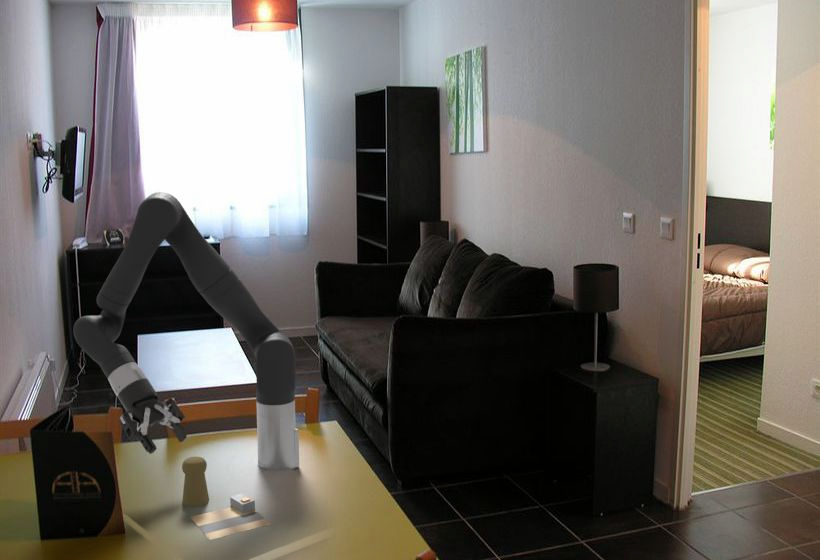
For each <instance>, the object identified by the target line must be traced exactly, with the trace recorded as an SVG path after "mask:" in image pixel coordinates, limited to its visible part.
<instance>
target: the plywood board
mask: <svg viewBox="0 0 820 560" xmlns="http://www.w3.org/2000/svg"><path fill="white" fill-rule="evenodd" d="M190 519H191V520H192V521H193V522H194V523H195V524H196V526H197V527H198V528H199V529H200V531H201V532H202V533H203V534H204V536H206V538H207V539H208V541H212V540H215V539H219V538H220V539H221V538H223V537H228V536H231V535H236V534H239V533H244V532H247V531H250V530H251V531H252V530H255V529H258V528H259V529H260V528H262V527H266V526H270V525H272V523H270V522H269V521H268V520H267V519H266V518H265V517H264V516H263V515H262V514H261V513H260V512H259V511H258V510H257V508H255V509H254V510H251V511H248V512H246V513H241V512H240V511H238V510H237V509H235V508H233V507H232V506H230V507H225V508H221V509H218V510H213V511H209V512H205V513H200V514H196V515H192V516H190Z"/></svg>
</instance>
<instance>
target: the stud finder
mask: <svg viewBox="0 0 820 560" xmlns="http://www.w3.org/2000/svg"><path fill="white" fill-rule="evenodd" d="M229 497H230V507H233V508H235V509H237V510H238V511H240V512H241V513H246V512H248V511H251V510H254V509H256V503H255V502H256V500H255V499H253V498H251V497H250V496H248V495H246V494H244V493H243V492H242V493H239V494H235V495H232V496H229Z"/></svg>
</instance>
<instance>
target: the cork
mask: <svg viewBox="0 0 820 560" xmlns="http://www.w3.org/2000/svg"><path fill="white" fill-rule="evenodd" d="M207 466H208V463H207V460H206V459H205V458H204V457H201V456H197V455H196V456H190V457H187V458H185V459H184V460H183V462H182V465H181V470H182V472H183V474H184V481H183V483H184V484H183V491H182V501H181V503H182V505H183V506H185V507H190V508H193V507H194V508H197V507H201V506H204V505H207V504H208V503H209V501H210V496H209V491H208V485H207V479H206V474H205V472H206V471H207Z"/></svg>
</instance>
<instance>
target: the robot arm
mask: <svg viewBox="0 0 820 560" xmlns="http://www.w3.org/2000/svg"><path fill="white" fill-rule="evenodd" d="M133 222H134V223H133V225H132V228H131V231H130V234H129V236H128V239H127V241H126V244H125V246H124V248H123V250H122V252H121V253H120V254H119V257H118V259H117V261H116V262H115V264H114V265H113V267H112V269H111V271H110V272H109V275H108V276H107V278H106V279H105V281H104V283H103V284H102V287H101V289H100V291H99V292H98V295H97V296H96V304H97V306H98V307H99V308H100V309H101V312H100V314H99V315H84V316H81V317H79V318H78V319H76V321H75V322H74V324H73V331H72V332H73V336H74V339H75V341H76V343H77V345H78V347H80V348H81V349H82V350H83V352H84V353H85V354H87V355H88V356H89V358H91V359H92V360H93V361H94V362H95V363H97V365H99V367H100V368H101V370H102V372H103V373H104V375H105V377H106V378H107V379H106V380H108V382H109V384H110V386H111V389H112V390H113V392H114V394H115V396H116V397H117V398H118V400H119V402H120V403H121V405H122V407H123V408H124V410H125V411H124V412H123V413H122V414H121V416H120V417H119V418H118V422H119V424H120V426H121V427H122V430H123V431H124V433H125V435H126V437H127V438H128V441H130V442H133V441H135V440H137V441H139V442H140V444H141V445H142V447H143V448H144V450H145V451H146V452H147V453H149V455H151V454H154V453H155V452H156V451H157V449H158V448H157V445H156V444H155V442H154V441H153V439H152V437H151V436H150V435H149V434H148V428H150V427H152V426H156V425H159V424H160V425H162V426H167V427H169V428H171V429H172V433H173V434H174V435H175V437H176V438H177V440H178V442H179V443H183V442H185V440H186V439H187V435H188V434H187V432H186V431H185V429H184V428H183V426H182V424H181V423H182V421H183V420H184V419H185V415H184V413H183V411H182V410H181V409H180V408H179V406H178V405H177V403H176V402H175V401H174V399H173V398H172V397H169V398H168V399H167V400H165V401H161V400H159V398H158V393H157V392H156V389H155V388H154V387H153V385H152V384H151V382H150V380H149V378H148V377H147V375H145V374H146V373H145V372H144V371H143V369H142V368H141V367H140V366H139V365H138V363H136V362H137V361H135V359H134V357H133V356H132V355H131V353H130V351H129V350H128V348H126V346H124V345H122V344H119V343H115V341H116V340H117V339H118V338H119V336H120V335H121V332H122V330H123V326H124V322H125V319H126V313H127V308H128V307H129V305H130V304H131V301H132V300H133V297H134V296H135V295H136V292H137V290H138V288H139V286H140V284H141V282H142V280H143V277H144V275H145V272H146V270H147V267H148V265H149V263H150V262H151V259H152V257H153V256H154V255H155V253H156V251H157V250H158V249H159V247H160V246H161V244H162V243H163V242H164V241H165V242H167V244H168V245H169V246H170V247H171V249H172V250H173V251H174V252H175V253H176V255H177V256H178V258H179V259H180V262H181V264H182V267H184V270H185V272H186V273H187V276H188V277H189V280H190V281H191V283H192V285H193V286H194V287H195V289H196V290H197V292H198V293H199V294H200V295H201V296H202V297H203V299H204V300H205V301H206V303H207V304H208V305H209V306H211V308H212V309H213V311H215V312H216V313H218V315H220V316H221V318H223V319H224V320H225V321H227V322H228V323H229V324H230V325H232V326H233V327H234V328H235V329H236V330H237V331H238V332H239V333H240V335H241V336H242V337H243V339H244V340H245V342H246V344H247V345H248V346H249V348H250V349H251V351H252V352H253V355H254V356H255V367H256V368H255V373H256V388H255V389H256V391H255V396H256V399H255V400H256V427H257V428H256V430H257V432H256V433H257V435H256V436H257V439H256V440H257V441H256V442H257V465H258V467H259V468H261V469H264V470H270V471H281V470H286V469H290V470H294V469H296V468H299V467H300V435H299V434H300V432H299V429H298V428H296V389H297V384H296V379H297V377H296V371H297V368H296V367H297V365H296V364H297V363H296V352H295V351H296V350H295V349H294V347H293V344H292V342H291V340H290V339H289V337H288V336H287V335H286V334H285V333H283V332H282V330H281V329H279V328H278V327H277V326H276V325H275V324H274V323H273V322H272V321H271V319H269V318H268V317H267V316H266V315H265V313H264V312H263V311H262V310H261V308H260V306H259V305H258V303H257V302H256V300H255V299H254V296H252V293H251V292H250V291H249V290H248V288H247V286H245V284H244V283H243V282H242V280H241V279H240V277H239V276H238V275H237V274H236V272H235V271H234V270H233V268H232V267H231V266H230V265H229V264H228V263H227V262H226V260H225V259H224V258H223V257H222V256H221V255H220V254H219V252H218V251H217V250H216V249H215V248H214V247H213V246H212V245H211V244H210V243H209V242H208V240H206V238H205V237H204V236H203V235H202V234H201V232H200V231H199V230H198V228H197V227H196V225H195V224H194V223H193V222H194V221H192V219H191V217H190V216H189V215H188V213H187V211H186V210H185V208H184V207H183V205H182V204H181V202H180V201H179V200H178V198H176V197H175V196H174V195H172V194H170V193H168V192H164V191H160V192H159V191H157V192H154V193H152V194H150V195H148V196H147V197H145V198H144V199H143V200H142V202H141V203H139V206H138V208H137V213H136V216H135V218H134V221H133ZM134 422H136V423H137V425H135V423H134Z"/></svg>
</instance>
